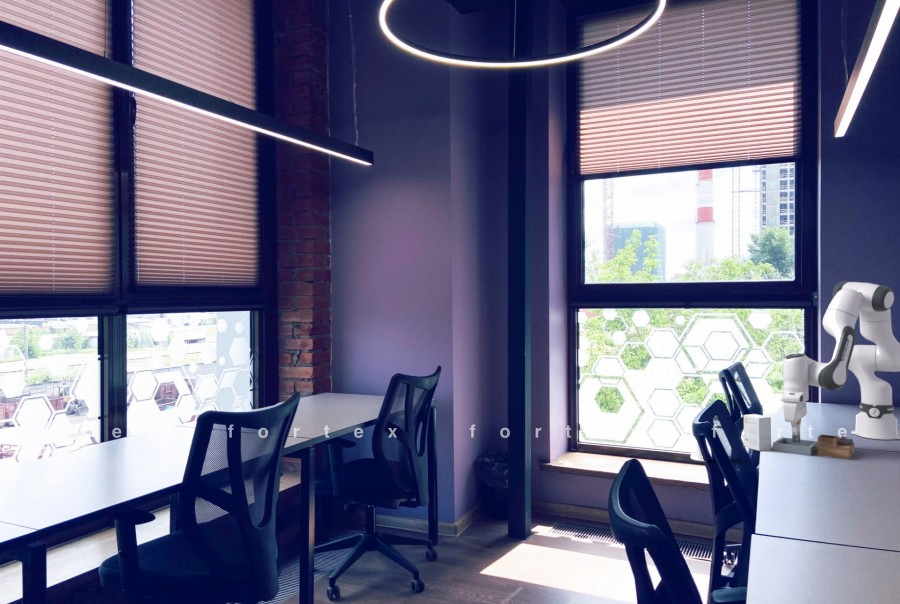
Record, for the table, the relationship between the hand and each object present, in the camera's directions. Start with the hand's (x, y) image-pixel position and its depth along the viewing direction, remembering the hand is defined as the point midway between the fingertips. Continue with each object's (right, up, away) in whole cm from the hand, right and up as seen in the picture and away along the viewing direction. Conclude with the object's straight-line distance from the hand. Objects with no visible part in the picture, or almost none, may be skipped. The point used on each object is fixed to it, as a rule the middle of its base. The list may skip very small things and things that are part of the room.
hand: (796, 430), depth 255 cm
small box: (-13, -8, +4) cm, 16 cm away
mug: (-42, -9, -12) cm, 45 cm away
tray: (0, -8, 0) cm, 8 cm away
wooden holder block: (+12, -8, -7) cm, 16 cm away
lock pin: (0, -5, 0) cm, 5 cm away
